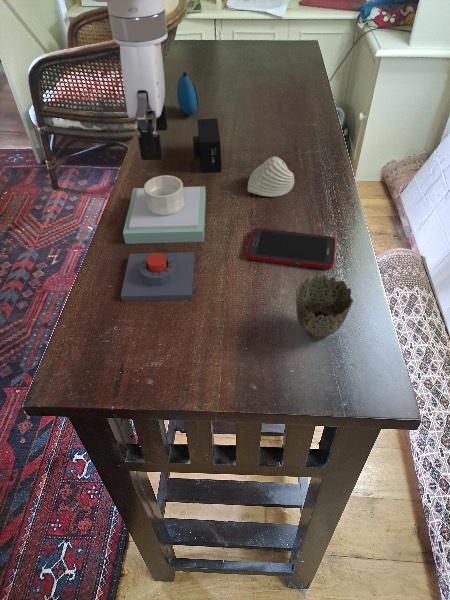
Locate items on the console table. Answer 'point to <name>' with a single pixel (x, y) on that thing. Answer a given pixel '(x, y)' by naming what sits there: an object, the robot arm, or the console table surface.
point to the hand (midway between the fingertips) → (155, 143)
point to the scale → (166, 220)
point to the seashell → (271, 179)
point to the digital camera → (208, 145)
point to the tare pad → (159, 278)
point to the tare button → (157, 262)
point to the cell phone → (291, 248)
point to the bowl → (164, 194)
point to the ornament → (187, 95)
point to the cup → (322, 305)
